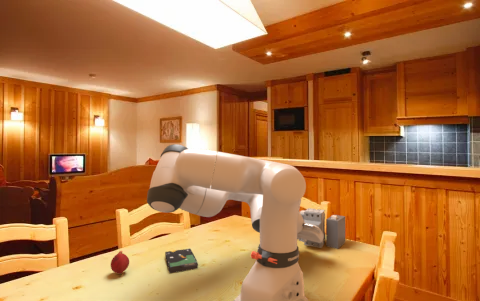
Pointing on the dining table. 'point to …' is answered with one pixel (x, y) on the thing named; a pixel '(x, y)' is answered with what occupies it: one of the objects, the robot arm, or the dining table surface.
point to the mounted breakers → (334, 230)
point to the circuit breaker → (316, 219)
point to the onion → (119, 263)
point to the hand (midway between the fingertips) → (303, 240)
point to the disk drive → (180, 260)
